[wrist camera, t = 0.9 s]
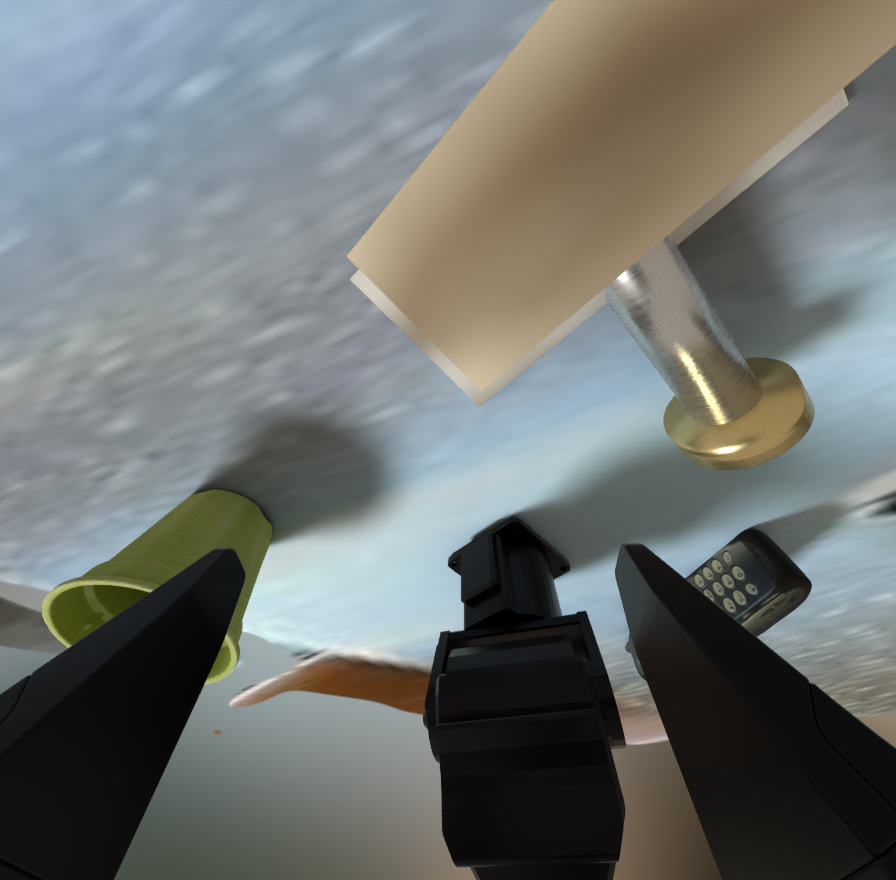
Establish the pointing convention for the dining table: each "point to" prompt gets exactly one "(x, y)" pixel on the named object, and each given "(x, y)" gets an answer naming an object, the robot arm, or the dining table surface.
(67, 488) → the dining table surface
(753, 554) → the mobile phone
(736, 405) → the door knob
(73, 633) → the plant pot
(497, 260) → the block
